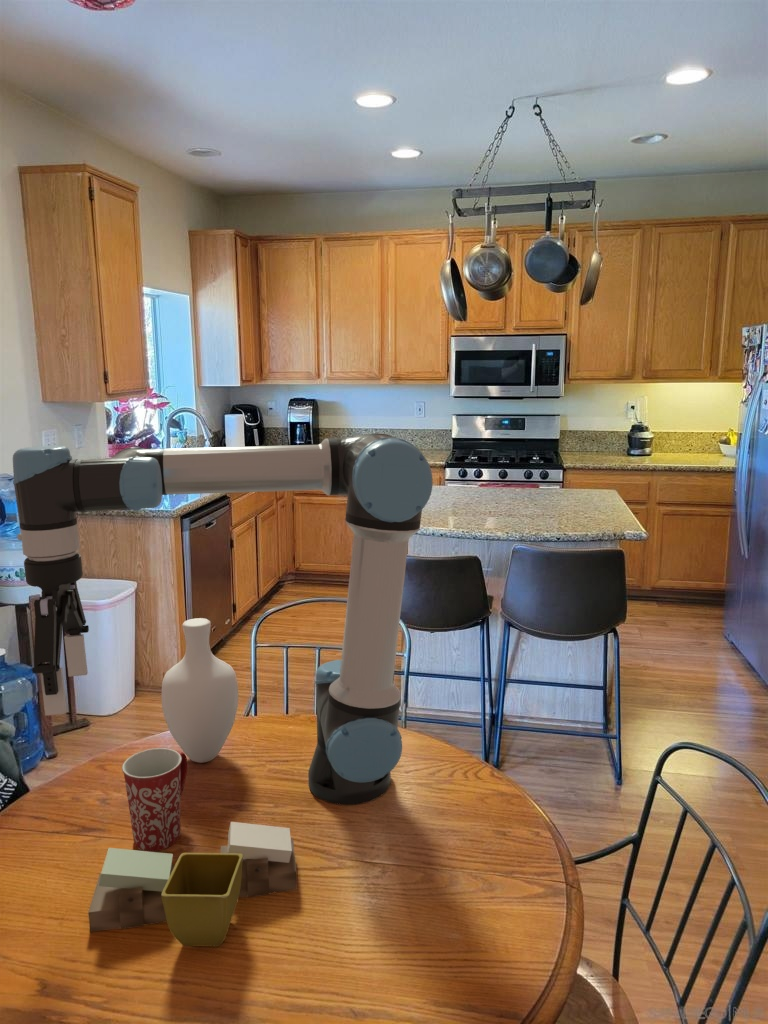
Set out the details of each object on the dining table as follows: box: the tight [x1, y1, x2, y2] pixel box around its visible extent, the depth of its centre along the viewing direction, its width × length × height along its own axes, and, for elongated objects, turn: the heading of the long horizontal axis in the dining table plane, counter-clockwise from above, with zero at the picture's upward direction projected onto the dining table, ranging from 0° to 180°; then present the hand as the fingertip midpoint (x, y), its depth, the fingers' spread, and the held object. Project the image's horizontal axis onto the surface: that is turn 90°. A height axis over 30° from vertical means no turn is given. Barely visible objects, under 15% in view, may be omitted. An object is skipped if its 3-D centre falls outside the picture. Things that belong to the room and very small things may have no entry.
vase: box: [161, 617, 239, 763], centre depth 140 cm, size 14×14×28 cm
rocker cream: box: [227, 821, 292, 863], centre depth 108 cm, size 9×6×2 cm, turn 101°
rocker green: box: [99, 847, 174, 892], centre depth 102 cm, size 9×6×2 cm, turn 101°
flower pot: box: [161, 852, 243, 947], centre depth 97 cm, size 9×9×9 cm
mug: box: [121, 747, 188, 852], centre depth 118 cm, size 13×9×14 cm
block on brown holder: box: [219, 837, 298, 899], centre depth 108 cm, size 11×8×5 cm
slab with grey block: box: [87, 863, 176, 933], centre depth 102 cm, size 11×8×5 cm
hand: (67, 693), depth 108 cm, fingers open, 13 cm apart
